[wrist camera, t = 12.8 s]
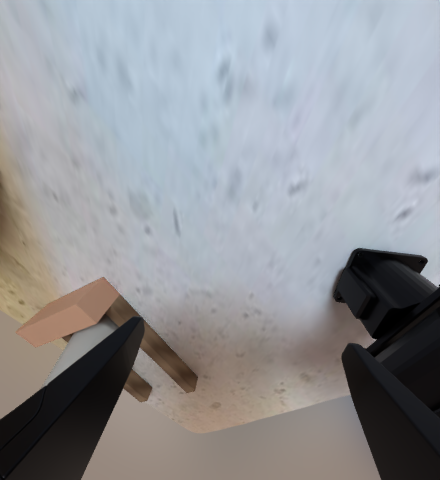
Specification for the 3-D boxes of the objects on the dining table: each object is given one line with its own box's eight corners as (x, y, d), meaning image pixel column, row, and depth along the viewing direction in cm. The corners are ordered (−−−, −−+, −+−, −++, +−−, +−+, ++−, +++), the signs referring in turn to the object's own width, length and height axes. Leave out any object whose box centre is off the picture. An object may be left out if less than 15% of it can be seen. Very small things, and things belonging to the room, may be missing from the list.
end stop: (119, 294, 25) (96, 323, 21) (64, 318, 29) (35, 347, 25) (103, 276, 24) (75, 304, 20) (48, 303, 28) (14, 332, 24)
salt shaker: (98, 337, 30) (8, 462, 18) (81, 308, 27) (-36, 433, 16) (134, 336, 29) (63, 468, 17) (120, 307, 26) (25, 438, 15)
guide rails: (197, 377, 32) (195, 391, 30) (145, 388, 35) (140, 402, 33) (119, 294, 25) (110, 306, 23) (64, 318, 29) (52, 330, 27)
